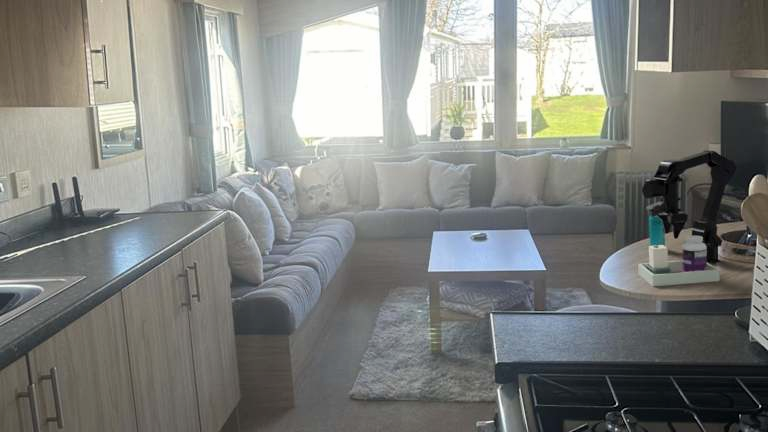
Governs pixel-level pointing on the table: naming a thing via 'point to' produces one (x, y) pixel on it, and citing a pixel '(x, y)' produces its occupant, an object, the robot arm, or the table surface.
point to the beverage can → (656, 231)
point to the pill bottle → (694, 254)
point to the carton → (658, 256)
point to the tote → (678, 275)
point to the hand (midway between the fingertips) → (671, 235)
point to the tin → (658, 270)
